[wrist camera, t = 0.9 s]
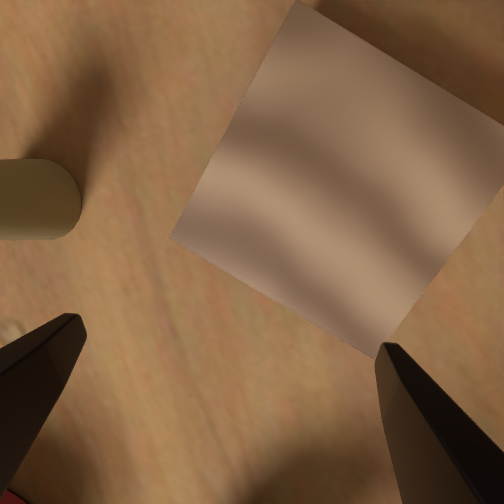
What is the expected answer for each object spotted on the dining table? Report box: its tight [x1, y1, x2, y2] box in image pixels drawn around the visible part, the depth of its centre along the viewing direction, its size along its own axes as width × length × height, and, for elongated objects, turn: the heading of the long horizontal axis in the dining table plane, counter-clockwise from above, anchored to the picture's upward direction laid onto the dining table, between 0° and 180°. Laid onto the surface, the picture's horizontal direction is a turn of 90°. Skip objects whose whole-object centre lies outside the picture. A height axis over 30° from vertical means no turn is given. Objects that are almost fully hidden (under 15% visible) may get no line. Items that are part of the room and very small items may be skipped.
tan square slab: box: [169, 0, 504, 359], centre depth 20 cm, size 15×15×4 cm
